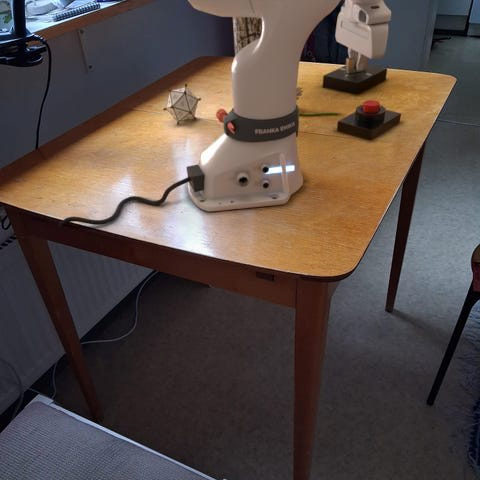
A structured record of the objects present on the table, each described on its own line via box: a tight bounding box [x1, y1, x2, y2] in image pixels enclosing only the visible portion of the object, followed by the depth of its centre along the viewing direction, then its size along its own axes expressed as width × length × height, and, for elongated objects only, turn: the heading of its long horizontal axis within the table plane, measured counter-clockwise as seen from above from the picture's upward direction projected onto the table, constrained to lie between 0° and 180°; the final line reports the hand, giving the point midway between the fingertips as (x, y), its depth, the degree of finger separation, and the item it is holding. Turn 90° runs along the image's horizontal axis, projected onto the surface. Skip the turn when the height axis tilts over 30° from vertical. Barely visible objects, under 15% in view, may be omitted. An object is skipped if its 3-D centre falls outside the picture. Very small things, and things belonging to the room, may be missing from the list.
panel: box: [322, 64, 388, 96], centre depth 131 cm, size 14×11×3 cm
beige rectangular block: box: [345, 56, 369, 74], centre depth 129 cm, size 6×2×4 cm, turn 109°
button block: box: [336, 104, 402, 141], centre depth 109 cm, size 12×9×4 cm
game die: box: [162, 82, 202, 126], centre depth 117 cm, size 9×8×10 cm
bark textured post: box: [232, 17, 262, 57], centre depth 107 cm, size 7×7×25 cm
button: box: [362, 99, 381, 113], centre depth 107 cm, size 4×4×2 cm
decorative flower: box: [296, 86, 338, 117], centre depth 118 cm, size 8×6×15 cm
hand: (356, 68), depth 129 cm, fingers closed on beige rectangular block, 2 cm apart
